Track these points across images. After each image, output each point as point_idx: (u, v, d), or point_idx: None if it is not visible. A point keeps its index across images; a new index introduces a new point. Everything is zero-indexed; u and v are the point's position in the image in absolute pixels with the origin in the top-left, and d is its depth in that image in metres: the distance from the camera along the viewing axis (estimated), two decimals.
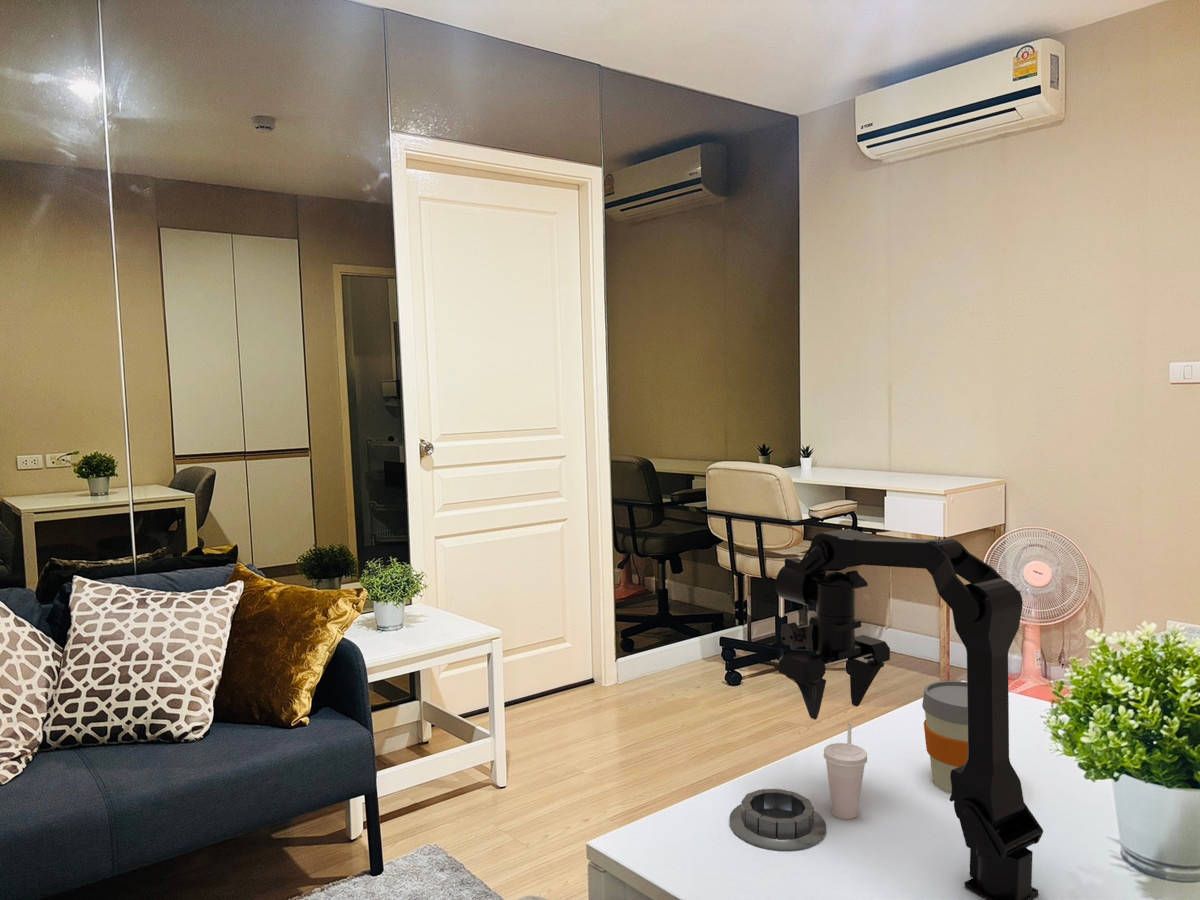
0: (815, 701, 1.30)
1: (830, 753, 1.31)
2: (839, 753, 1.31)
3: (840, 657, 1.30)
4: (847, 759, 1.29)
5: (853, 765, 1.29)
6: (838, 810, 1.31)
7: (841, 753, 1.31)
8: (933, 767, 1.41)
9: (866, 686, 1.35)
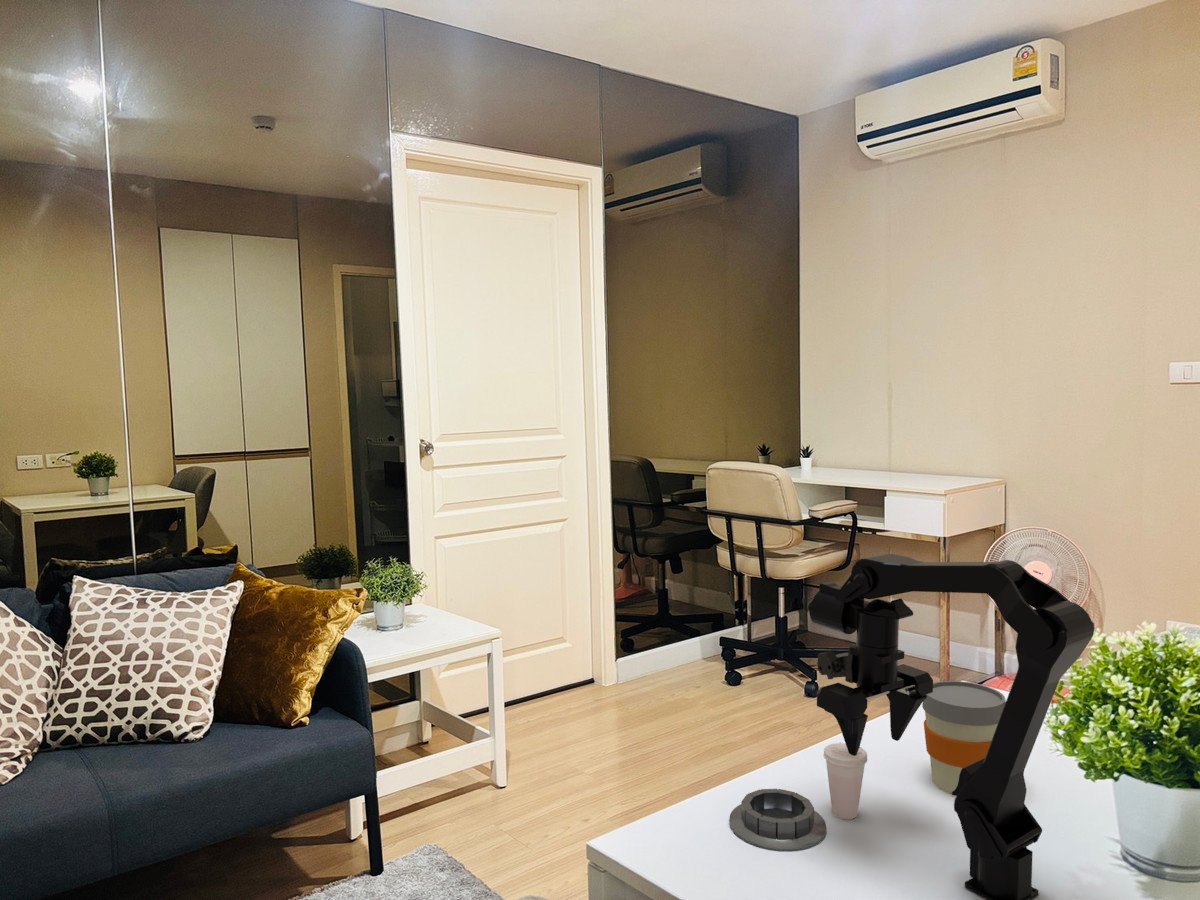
0: (855, 737, 1.22)
1: (830, 753, 1.31)
2: (839, 753, 1.31)
3: (882, 691, 1.22)
4: (847, 759, 1.29)
5: (853, 765, 1.29)
6: (838, 810, 1.31)
7: (841, 753, 1.31)
8: (933, 767, 1.41)
9: (908, 720, 1.28)
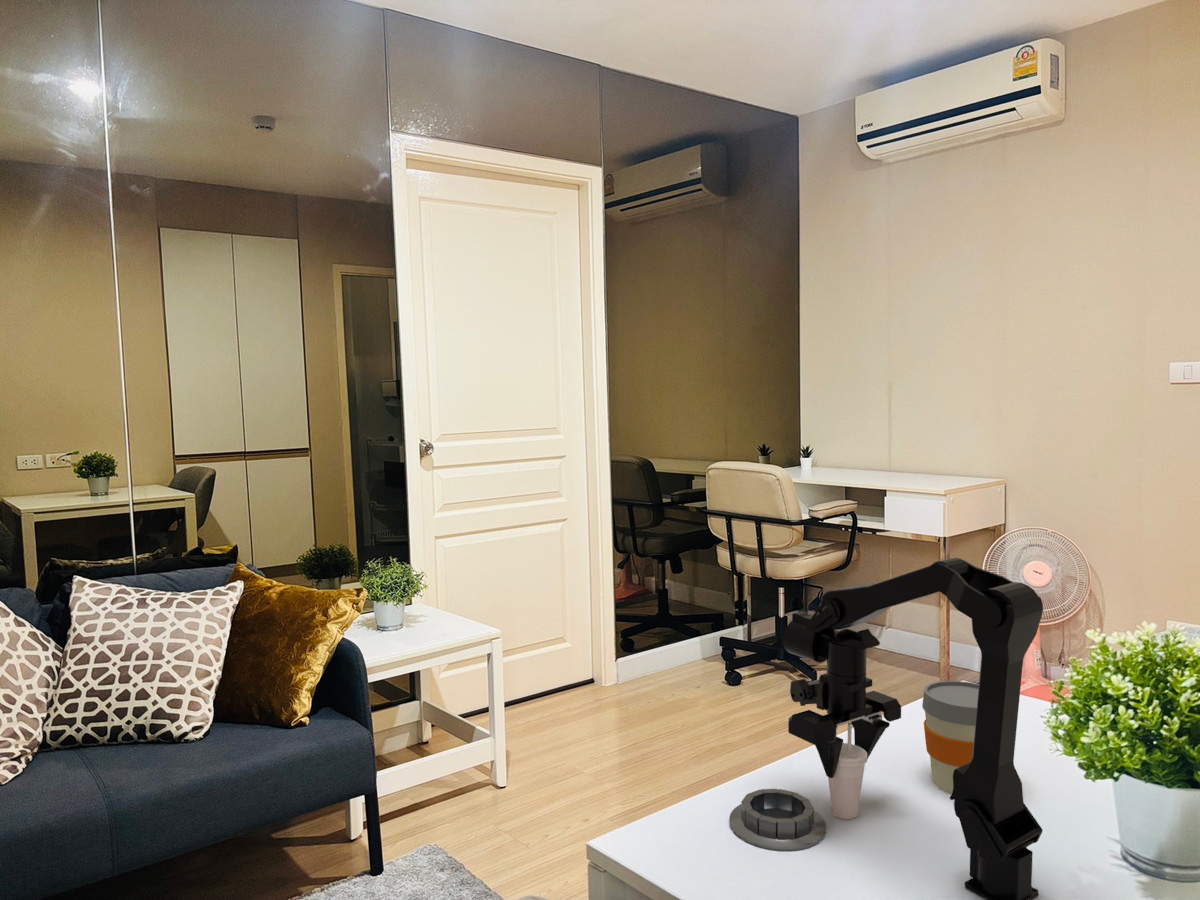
0: (832, 760, 1.28)
1: None
2: None
3: (851, 718, 1.28)
4: (847, 759, 1.29)
5: (853, 765, 1.29)
6: (838, 810, 1.31)
7: (841, 753, 1.31)
8: (933, 767, 1.41)
9: (871, 747, 1.32)
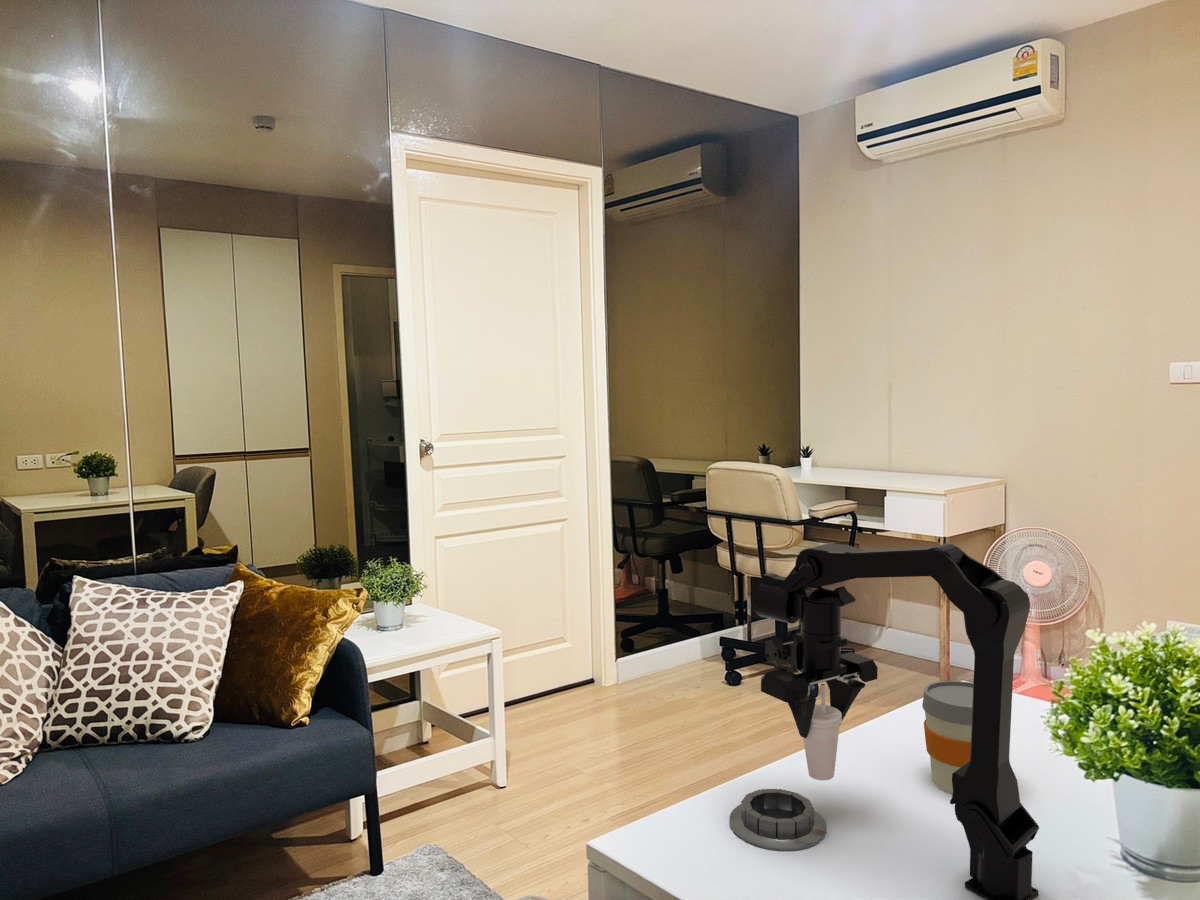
0: (805, 719, 1.26)
1: None
2: (813, 714, 1.29)
3: (824, 676, 1.26)
4: (820, 720, 1.27)
5: (826, 726, 1.27)
6: (814, 772, 1.30)
7: (815, 714, 1.29)
8: (933, 767, 1.41)
9: (846, 707, 1.30)
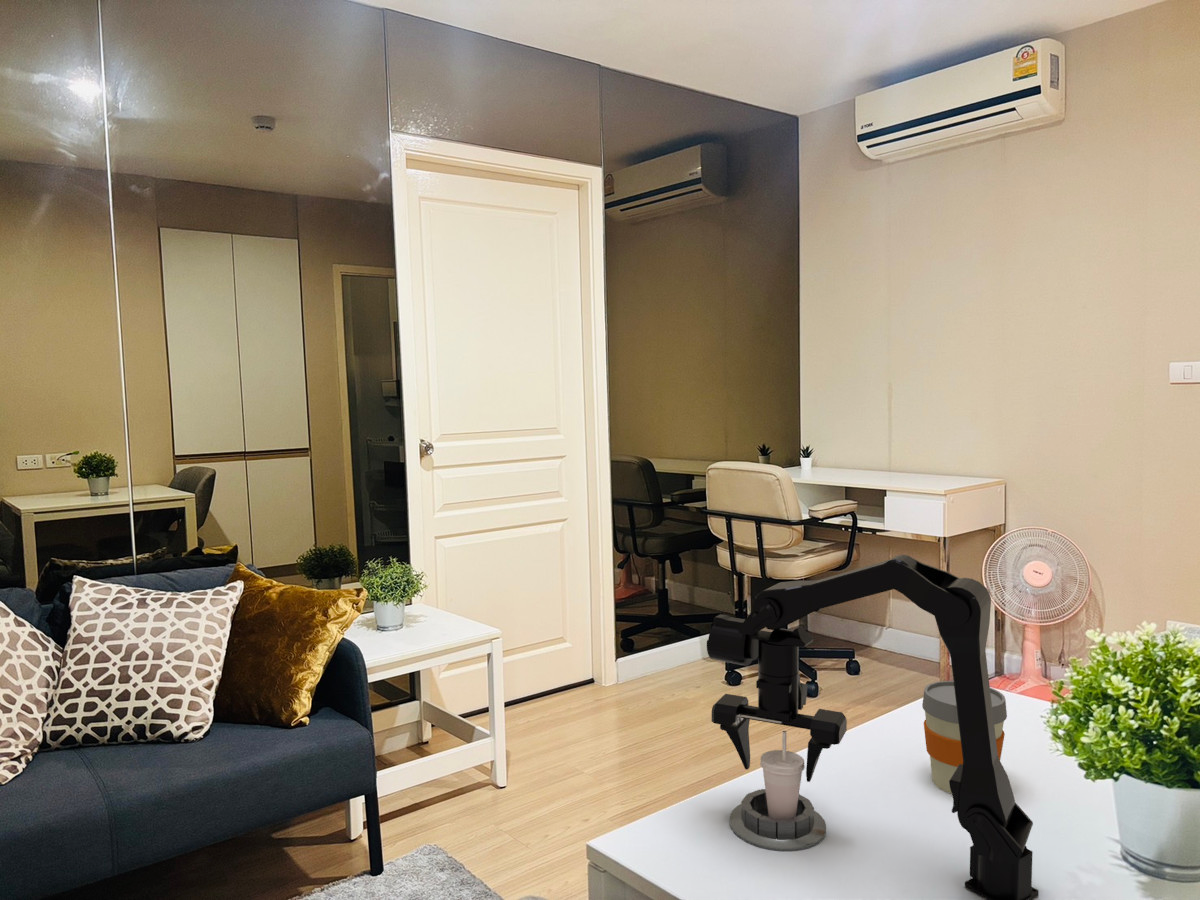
0: None
1: (769, 754, 1.30)
2: (774, 757, 1.29)
3: (758, 714, 1.26)
4: (766, 762, 1.27)
5: (767, 770, 1.26)
6: (768, 813, 1.29)
7: (774, 757, 1.28)
8: (933, 767, 1.41)
9: (809, 762, 1.24)
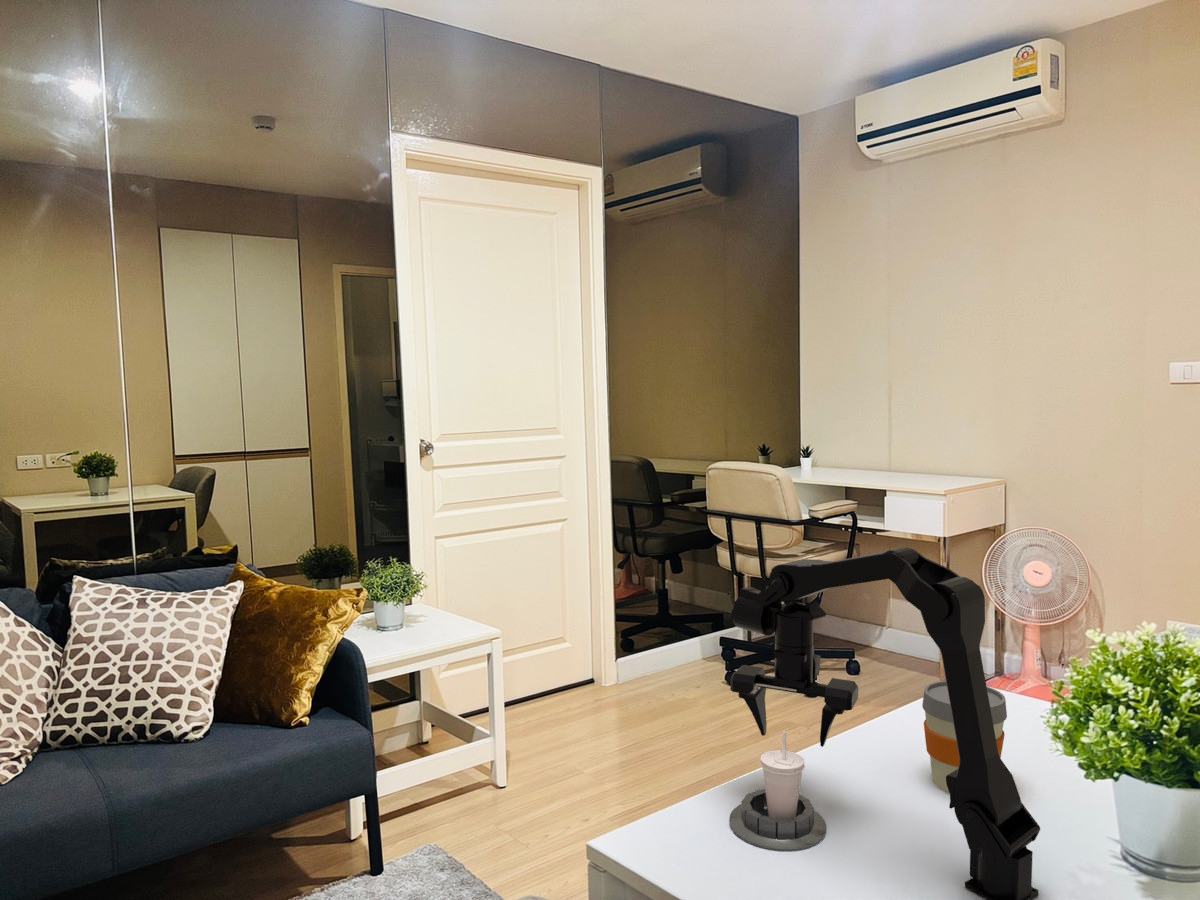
0: None
1: (769, 754, 1.30)
2: (774, 757, 1.29)
3: (775, 683, 1.34)
4: (766, 762, 1.27)
5: (767, 770, 1.26)
6: (768, 813, 1.29)
7: (774, 757, 1.28)
8: (933, 767, 1.41)
9: (822, 727, 1.32)
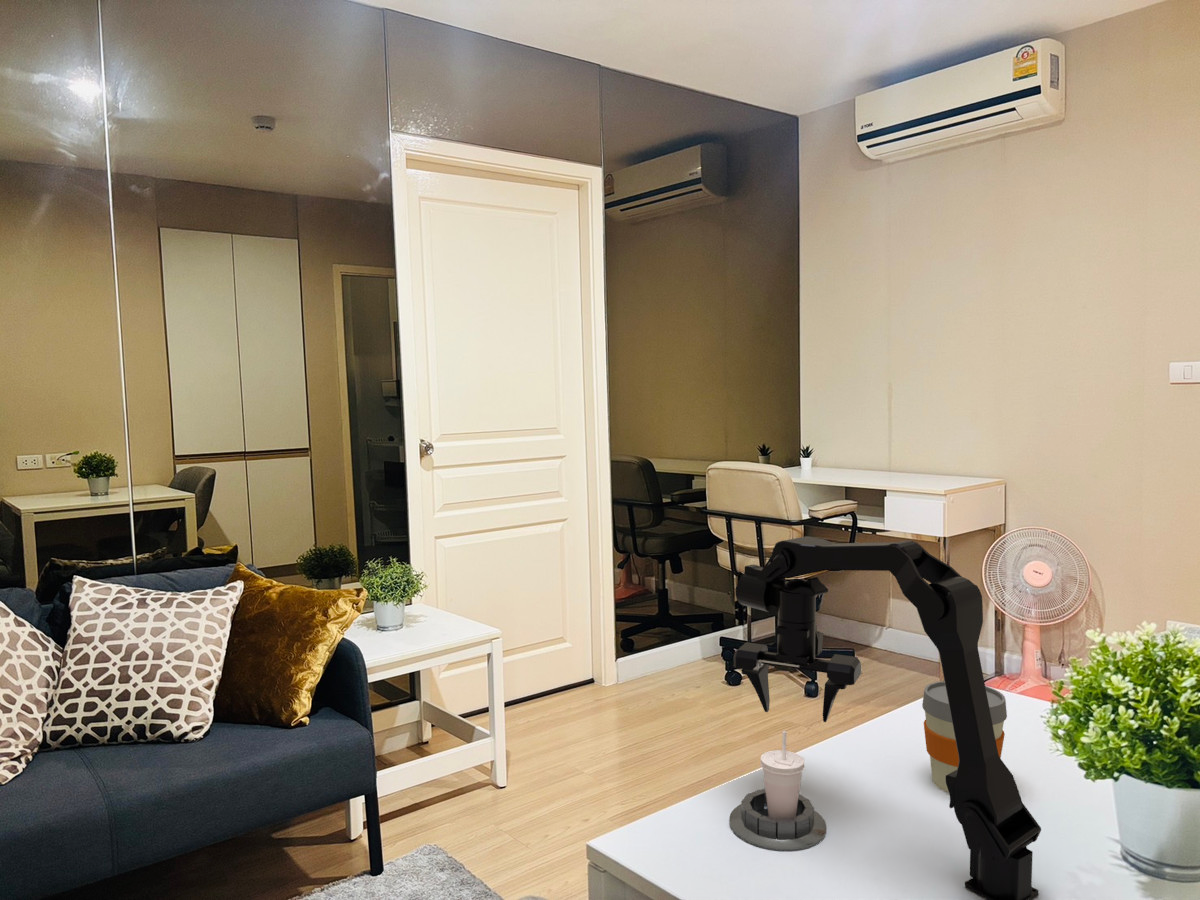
0: None
1: (769, 754, 1.30)
2: (774, 756, 1.29)
3: (778, 659, 1.34)
4: (766, 762, 1.27)
5: (767, 770, 1.26)
6: (768, 813, 1.29)
7: (774, 757, 1.28)
8: (933, 767, 1.41)
9: (825, 703, 1.33)
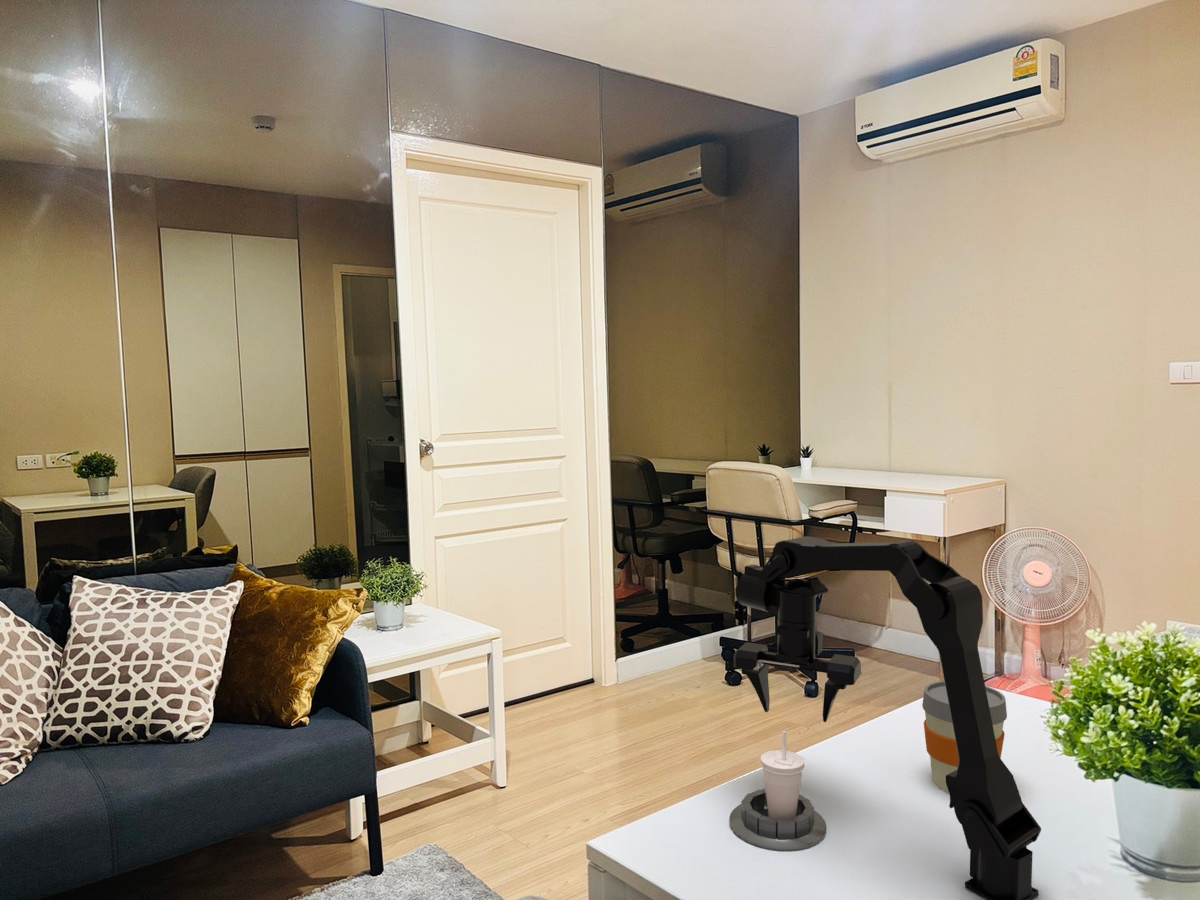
0: None
1: (769, 754, 1.30)
2: (774, 757, 1.29)
3: (778, 659, 1.34)
4: (766, 762, 1.27)
5: (767, 770, 1.26)
6: (768, 813, 1.29)
7: (774, 757, 1.28)
8: (933, 767, 1.41)
9: (825, 703, 1.33)
